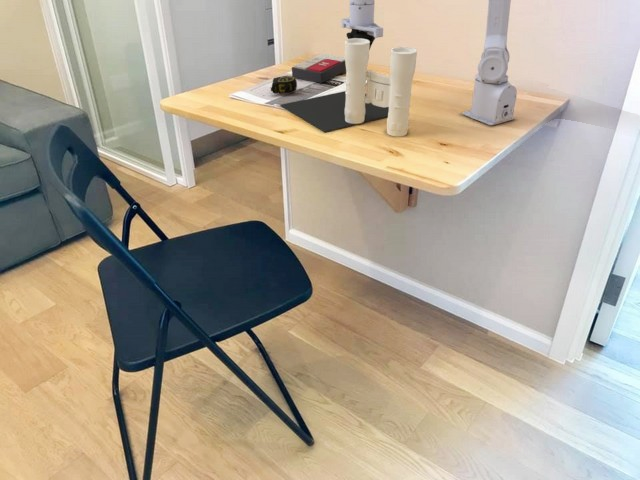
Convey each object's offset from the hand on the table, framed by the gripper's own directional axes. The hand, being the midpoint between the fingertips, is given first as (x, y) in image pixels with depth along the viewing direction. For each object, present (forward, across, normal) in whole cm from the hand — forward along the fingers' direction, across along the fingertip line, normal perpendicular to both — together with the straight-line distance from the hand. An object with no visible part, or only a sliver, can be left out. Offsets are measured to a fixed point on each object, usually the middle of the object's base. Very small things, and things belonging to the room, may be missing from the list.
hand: (360, 63), depth 129 cm
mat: (+10, 0, -6) cm, 12 cm away
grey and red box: (+11, -29, +6) cm, 31 cm away
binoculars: (+10, +15, -6) cm, 19 cm away
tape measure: (+11, -20, -12) cm, 26 cm away
